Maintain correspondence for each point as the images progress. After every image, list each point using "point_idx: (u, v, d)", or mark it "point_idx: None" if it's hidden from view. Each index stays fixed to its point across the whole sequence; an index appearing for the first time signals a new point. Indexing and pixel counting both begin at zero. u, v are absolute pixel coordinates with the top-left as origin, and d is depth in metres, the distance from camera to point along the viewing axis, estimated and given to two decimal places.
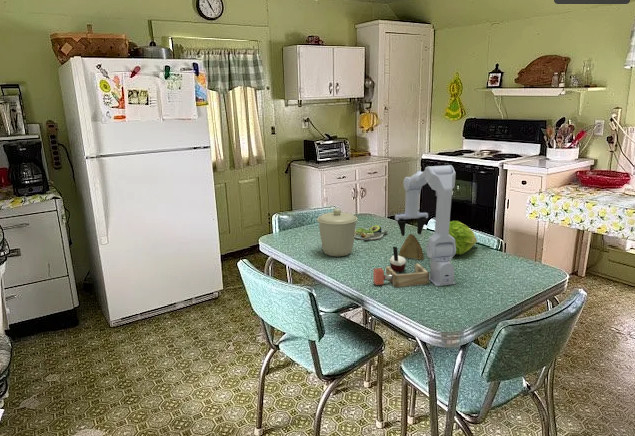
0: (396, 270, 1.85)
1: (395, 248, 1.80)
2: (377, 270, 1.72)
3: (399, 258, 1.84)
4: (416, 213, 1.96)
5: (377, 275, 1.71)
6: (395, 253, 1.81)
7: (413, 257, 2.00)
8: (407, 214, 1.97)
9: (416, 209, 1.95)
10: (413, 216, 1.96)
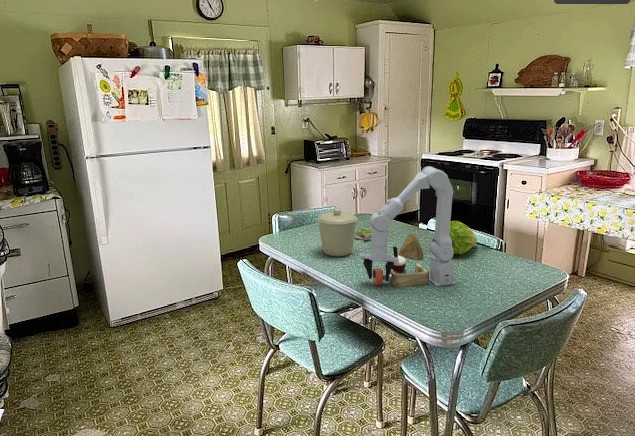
0: (396, 270, 1.85)
1: (395, 248, 1.80)
2: (376, 270, 1.72)
3: (399, 258, 1.84)
4: (379, 256, 1.68)
5: (376, 275, 1.71)
6: (395, 253, 1.81)
7: (413, 257, 2.00)
8: (371, 255, 1.71)
9: (379, 251, 1.68)
10: (375, 259, 1.69)
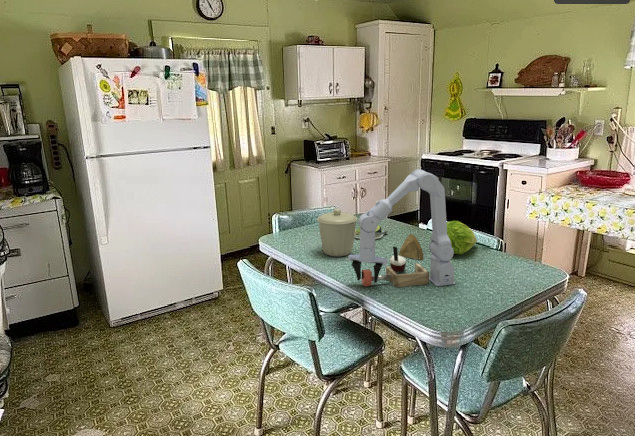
0: (396, 270, 1.85)
1: (395, 248, 1.80)
2: (365, 271, 1.71)
3: (399, 258, 1.84)
4: (368, 257, 1.67)
5: (365, 276, 1.70)
6: (395, 253, 1.81)
7: (413, 257, 2.00)
8: (360, 256, 1.70)
9: (368, 253, 1.67)
10: (364, 260, 1.68)
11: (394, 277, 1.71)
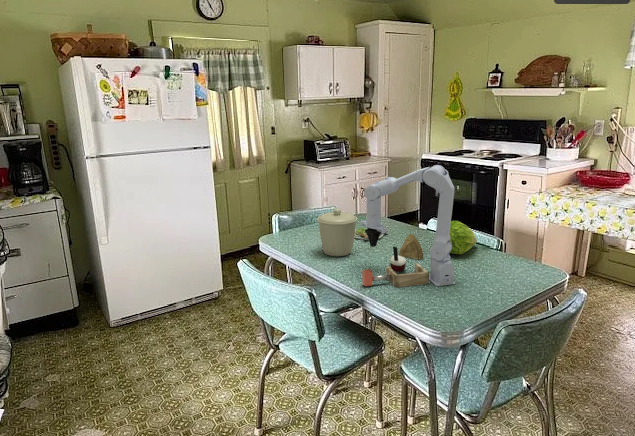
0: (396, 270, 1.85)
1: (395, 248, 1.80)
2: (366, 271, 1.71)
3: (399, 258, 1.84)
4: (370, 223, 1.83)
5: (366, 276, 1.71)
6: (395, 253, 1.81)
7: (413, 257, 2.00)
8: None
9: (369, 219, 1.82)
10: (367, 225, 1.84)
11: (394, 277, 1.71)
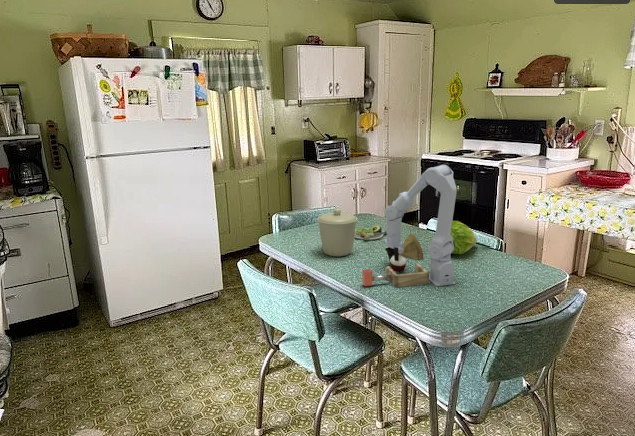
0: (396, 270, 1.84)
1: (396, 248, 1.79)
2: (366, 271, 1.71)
3: (399, 258, 1.84)
4: (388, 242, 1.87)
5: (366, 276, 1.71)
6: (396, 253, 1.81)
7: (413, 257, 2.00)
8: None
9: (388, 238, 1.86)
10: (386, 244, 1.88)
11: (394, 277, 1.71)
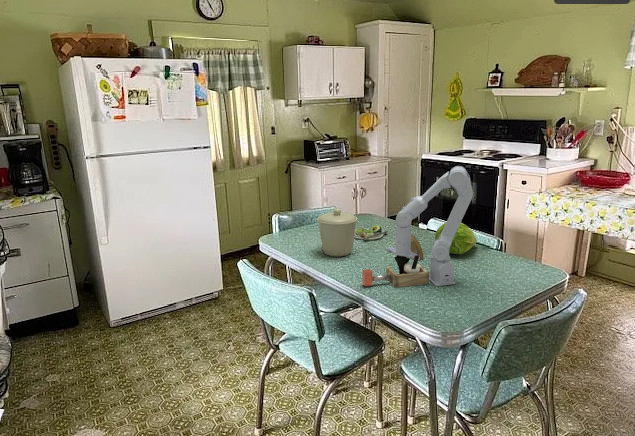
0: None
1: (417, 256, 1.70)
2: (366, 271, 1.71)
3: None
4: (400, 251, 1.76)
5: (366, 276, 1.71)
6: (415, 261, 1.72)
7: None
8: None
9: (400, 247, 1.76)
10: (397, 253, 1.77)
11: (394, 277, 1.71)
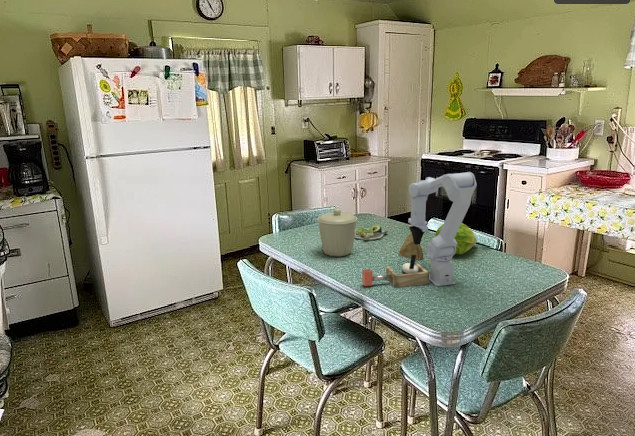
0: None
1: (414, 256, 1.71)
2: (366, 271, 1.71)
3: None
4: (413, 221, 1.85)
5: (366, 276, 1.71)
6: (413, 261, 1.72)
7: None
8: None
9: (413, 217, 1.84)
10: (410, 223, 1.86)
11: (394, 277, 1.71)
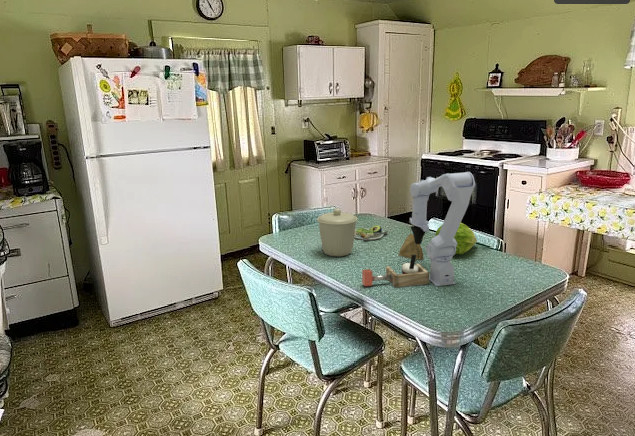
0: None
1: (414, 256, 1.71)
2: (366, 271, 1.71)
3: None
4: (414, 221, 1.85)
5: (366, 276, 1.71)
6: (413, 261, 1.72)
7: None
8: None
9: (414, 216, 1.85)
10: (411, 222, 1.87)
11: (394, 277, 1.71)
